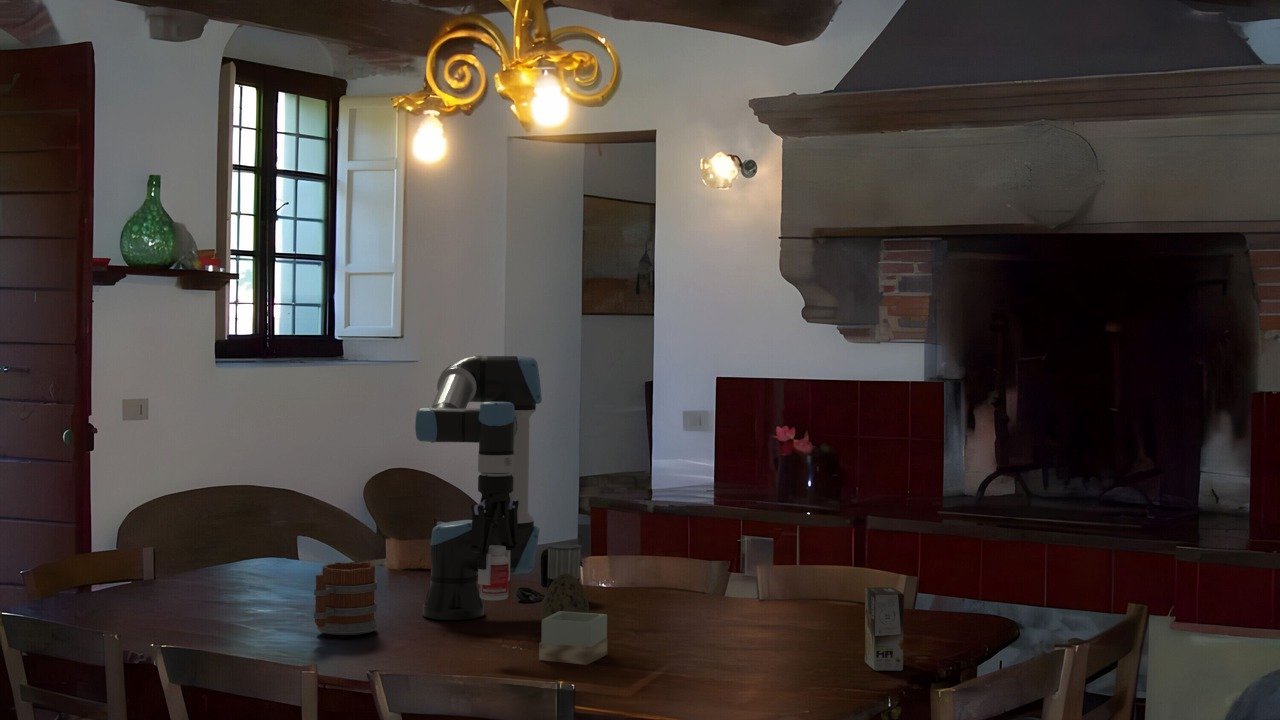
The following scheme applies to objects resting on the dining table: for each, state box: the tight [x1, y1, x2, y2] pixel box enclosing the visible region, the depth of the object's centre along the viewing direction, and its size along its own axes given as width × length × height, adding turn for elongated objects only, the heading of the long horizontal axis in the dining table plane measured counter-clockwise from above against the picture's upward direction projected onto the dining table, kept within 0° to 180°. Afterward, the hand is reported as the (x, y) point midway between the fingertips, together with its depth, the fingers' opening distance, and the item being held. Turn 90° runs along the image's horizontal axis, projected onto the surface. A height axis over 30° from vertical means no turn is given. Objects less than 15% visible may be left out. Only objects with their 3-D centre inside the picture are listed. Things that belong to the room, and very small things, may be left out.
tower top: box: [540, 611, 608, 647], centre depth 286 cm, size 11×11×5 cm
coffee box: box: [864, 586, 905, 672], centre depth 282 cm, size 9×6×16 cm
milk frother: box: [515, 542, 583, 604], centre depth 354 cm, size 14×16×15 cm
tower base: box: [538, 637, 608, 666], centre depth 286 cm, size 11×11×4 cm
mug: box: [313, 561, 379, 636], centre depth 309 cm, size 14×19×15 cm
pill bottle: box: [479, 545, 510, 601], centre depth 285 cm, size 6×6×11 cm
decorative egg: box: [541, 574, 590, 620], centre depth 304 cm, size 11×11×15 cm
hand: (494, 581), depth 286 cm, fingers closed on pill bottle, 6 cm apart
